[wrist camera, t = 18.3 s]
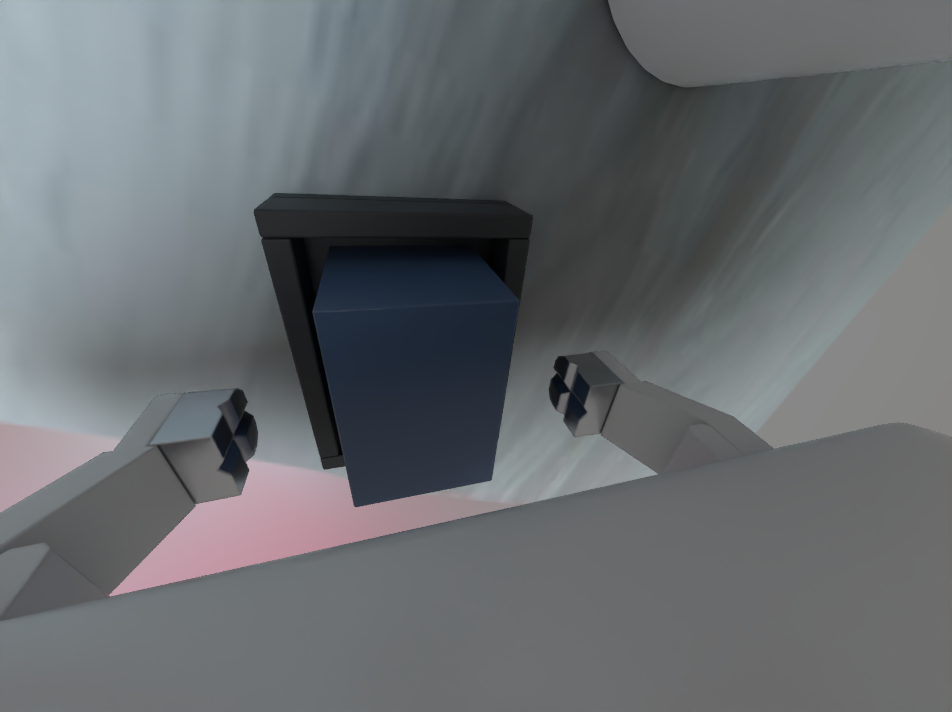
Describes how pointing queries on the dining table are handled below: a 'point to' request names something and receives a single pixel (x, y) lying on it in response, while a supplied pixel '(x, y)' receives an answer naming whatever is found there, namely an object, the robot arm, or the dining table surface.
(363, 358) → the dark blue rectangular block
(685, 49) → the pill bottle
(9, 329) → the dining table surface
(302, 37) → the dining table surface
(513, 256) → the dark rectangular tray
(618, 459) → the dining table surface
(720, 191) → the dining table surface
